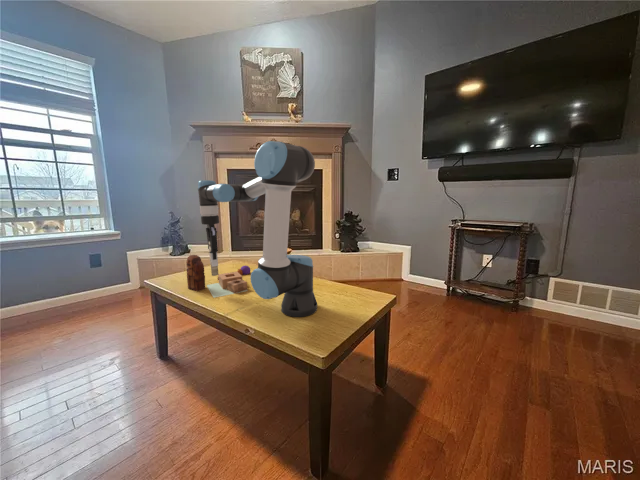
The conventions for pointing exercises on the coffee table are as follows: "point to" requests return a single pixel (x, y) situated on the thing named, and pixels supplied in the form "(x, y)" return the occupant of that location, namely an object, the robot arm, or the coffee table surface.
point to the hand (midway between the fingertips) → (214, 265)
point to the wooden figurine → (195, 273)
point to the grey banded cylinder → (215, 268)
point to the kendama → (243, 270)
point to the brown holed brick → (237, 285)
